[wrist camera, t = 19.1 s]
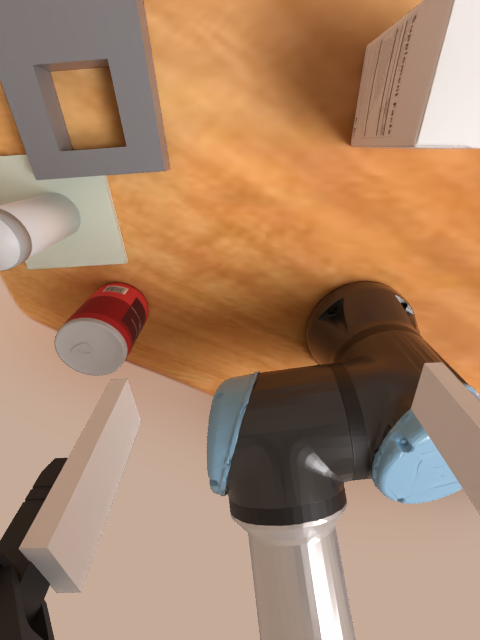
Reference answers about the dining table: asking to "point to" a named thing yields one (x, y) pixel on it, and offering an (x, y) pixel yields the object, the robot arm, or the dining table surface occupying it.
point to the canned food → (103, 330)
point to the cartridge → (34, 226)
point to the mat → (92, 203)
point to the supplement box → (423, 81)
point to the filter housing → (81, 53)
